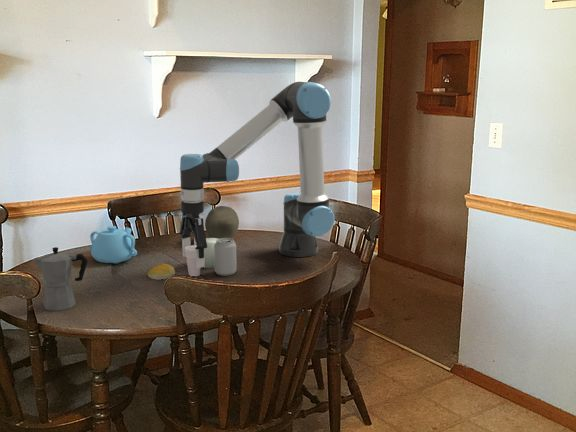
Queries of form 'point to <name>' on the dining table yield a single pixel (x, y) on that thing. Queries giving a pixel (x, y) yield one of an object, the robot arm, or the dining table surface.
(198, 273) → the smoothie
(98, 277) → the dining table surface
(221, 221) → the cantaloupe
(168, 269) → the bread roll
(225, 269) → the can
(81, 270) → the coffeepot
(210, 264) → the sage mug
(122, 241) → the teapot
